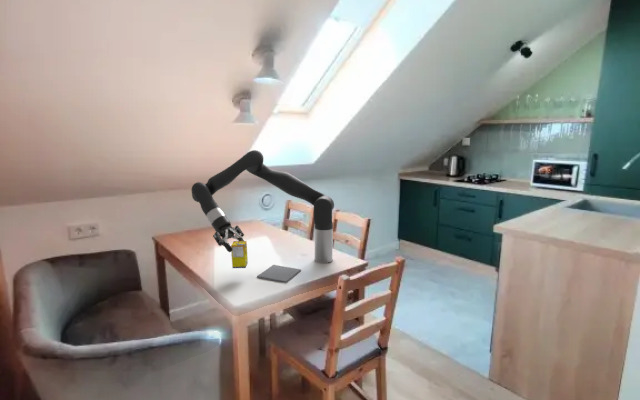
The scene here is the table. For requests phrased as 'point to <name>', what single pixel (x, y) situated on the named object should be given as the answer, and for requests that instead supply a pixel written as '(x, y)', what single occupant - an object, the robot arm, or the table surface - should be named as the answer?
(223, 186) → the robot arm
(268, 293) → the table surface
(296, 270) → the charcoal mat
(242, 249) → the supplement box
